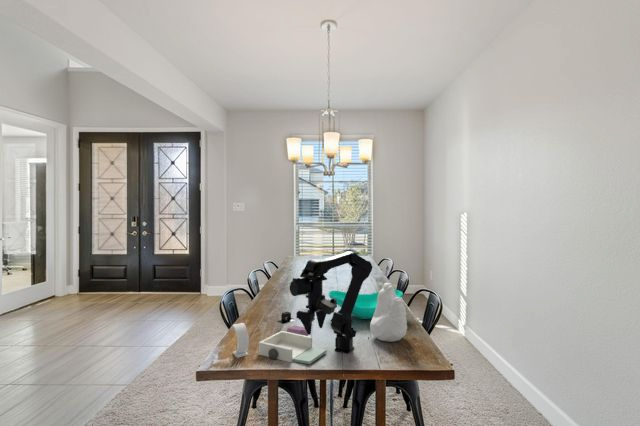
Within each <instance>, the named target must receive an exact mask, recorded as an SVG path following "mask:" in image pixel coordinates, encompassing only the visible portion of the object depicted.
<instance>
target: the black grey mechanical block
mask: <svg viewBox="0 0 640 426" xmlns="http://www.w3.org/2000/svg"><path fill="white" fill-rule="evenodd" d="M291 313H292V312H290V311H285V312H281V315H280V316H281V318H280V320H277V321H276V322H277V323H280V324H286V323H290V322H293V321H297V318H296V319H295V318H292V314H291Z"/></svg>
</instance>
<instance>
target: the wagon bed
mask: <svg viewBox="0 0 640 426" xmlns="http://www.w3.org/2000/svg"><path fill="white" fill-rule="evenodd" d="M310 348H313V336H310V335H308V336H305V335H300V334H295V333H290V332H287V330H286V331H284V330H280V331H279V332H276V333H274V334H272V335H270V336H268V337H266V338H264V339H263V340H260V341H259V342H258V355H260V356H264V357H268V358H269V359H270V360H275V359H276V360H280V361H284V362H288V363H292V362H294V361H293V359H294V358H296V357H297V356H299V355H300V354H302V353H303V352H305V351H306V350H308V349H310Z"/></svg>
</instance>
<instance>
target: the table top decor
mask: <svg viewBox="0 0 640 426" xmlns="http://www.w3.org/2000/svg"><path fill="white" fill-rule="evenodd" d="M394 291H395V293H396V296H397V297H400V298H402V299H403V295H404V293H403V292H402V291H400V290H398V289H394ZM346 293H347V291H346V292H345V291H341V290H331V291H329V292H328V297H329V298H330V300H331V299H333V298H334V299H336V301H337V306H339V307H340V308H341V307H342V304H343V301H344V299H345V296H346ZM378 293H379V291H377V292H373V293H370V294H369V293H367V294H365V293H361V294H360V293H359V294H358V297H357V300H356V303H355V306H354V308H353V311H352V315H353V316H354V317H355V318H357V319H360V320H361V319H362V320H372V318H373V316H374V312H375V310H376V306H377V298H378Z"/></svg>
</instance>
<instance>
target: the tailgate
mask: <svg viewBox="0 0 640 426" xmlns="http://www.w3.org/2000/svg"><path fill="white" fill-rule="evenodd" d="M326 353H328V352H327V349H323V348H322V349H321V348H316V347H315V348H314V347H312V348H310V349H308V350H306V351H305V352H303V353H302V354H300V355H299V356H297V357H296V358H294V359H293V361H292V362H295V363H301V364H306V365H307V364H308V365H311V364H312V363H314V362H315V361H316V360H319V358H321V357H322V356H323V355H325V354H326Z"/></svg>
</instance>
